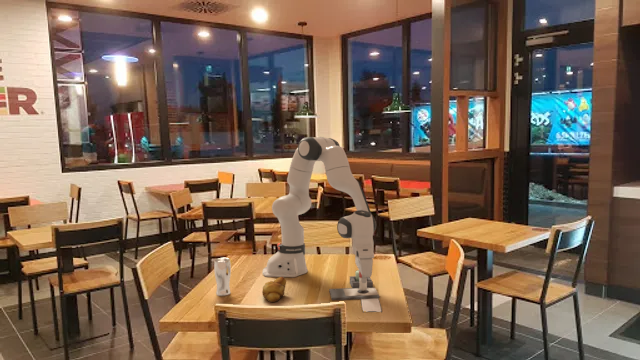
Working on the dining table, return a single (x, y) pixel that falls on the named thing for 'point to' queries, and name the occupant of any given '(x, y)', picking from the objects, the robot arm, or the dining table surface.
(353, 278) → the button base
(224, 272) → the beer glass
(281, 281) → the bread roll
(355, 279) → the button
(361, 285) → the marker
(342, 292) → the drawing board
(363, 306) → the smartphone
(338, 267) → the dining table surface
